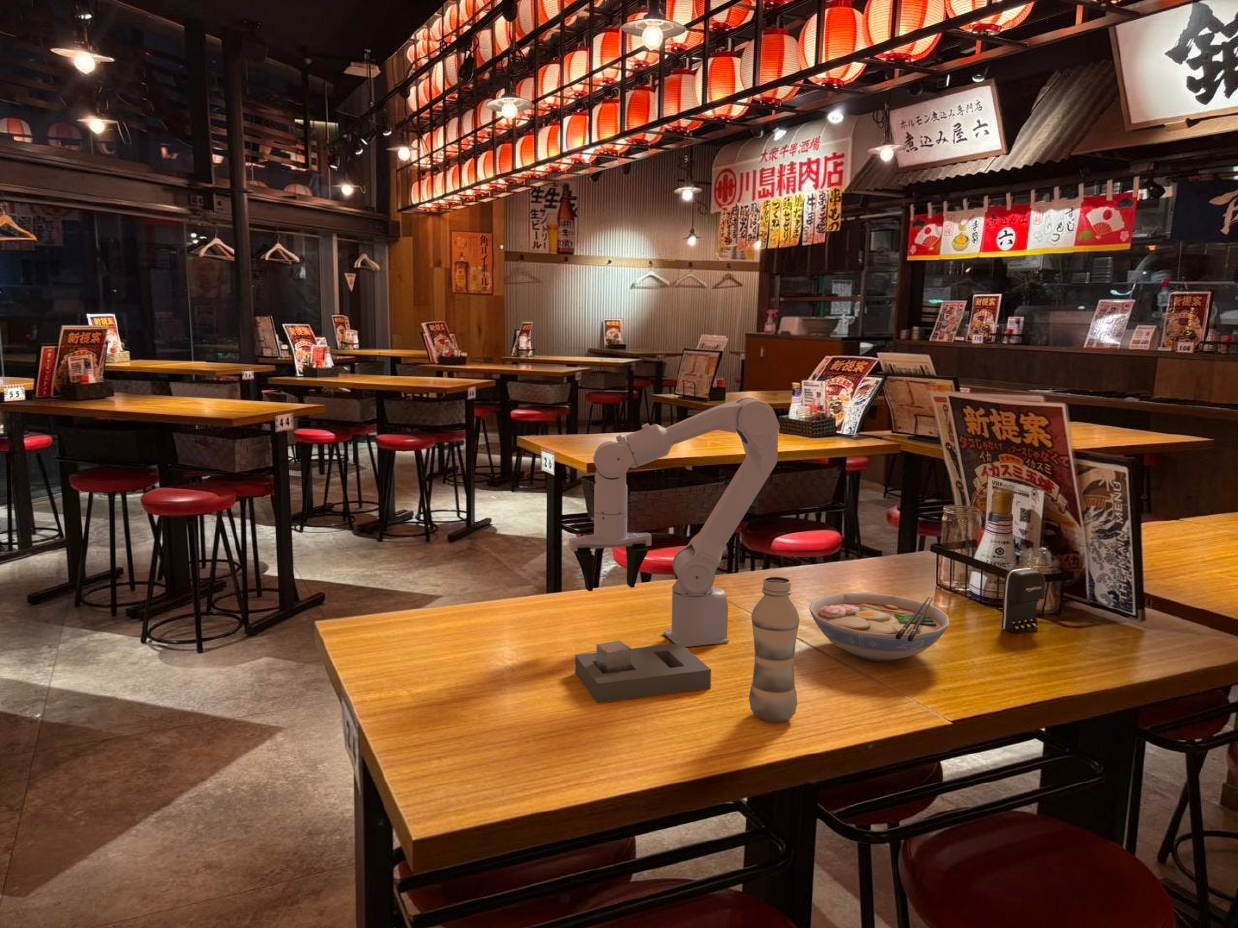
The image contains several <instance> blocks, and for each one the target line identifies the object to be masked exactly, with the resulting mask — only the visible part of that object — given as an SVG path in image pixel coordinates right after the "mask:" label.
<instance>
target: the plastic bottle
mask: <svg viewBox="0 0 1238 928" xmlns="http://www.w3.org/2000/svg"><path fill="white" fill-rule="evenodd" d="M791 584H792V583H791V579H789V578H788V577H783V576H766V577H764V579H763V581H762V585H763V586H762V589H761V590H762V591H761V593H763V596H762V597H761V598H760V599H759V601H758V602H757V603H756V605H755V606H754V607H753V609H752V612H751V626H752V634H753V641H754V642H753V644H754V645H753V647H754V649H753V651H754V663H753V664H754V665H753V674H752V682H751V686H750V690H749V697H748V700H749V707H750V711H751V712H752V713H753V714H754V716H755V717H756V718H758V719H760V720H763V721H765V722H770V723H782V722H787V721H789V720H791V719H792V718H793V716H794V715H795V714H796V710H797V705H798V697H797V690H796V686H795V684H796V683H795V682H796V681H795V666H794V663H795V657H794V656H795V650H796V642H797V637H798V630H799V625H800V616H799V612H798V610H797V608H796V606H795V605H794V603H793V602H792V600H791V598H790V597H789V596H791V594H792V590H791V588H792V587H791V586H792V585H791Z"/></svg>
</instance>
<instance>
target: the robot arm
mask: <svg viewBox="0 0 1238 928" xmlns="http://www.w3.org/2000/svg"><path fill="white" fill-rule="evenodd" d="M780 428H781V426H780V423H779V420H778V418H777V415H776V413H775V410H774V409H773V407H772V406H771V405H770V404H768V403H766V402H765V401H761V400H757V399H756V398H753V397H750V396H749V397H743V398H739V399H738V400H737V401H729V402H725V403H722V404H718V405H716V406H713V407H710V408H708V409H707V410H704V411H702V412H699V413H697V414H694V415H693V416H690V417H688V418H686V419H683V420H681V421H678V422H677V423H674V424H672V425H670V426H667V427H665V426H662V425H659V424H657V423H655V424H652V425H650V424H649V423H645V424H643V425H641V429H640V430H637V431H634V432H632V433H630V434H627V435H625V436H622V435H621V434H620V435H616V436H615V440H616V441H613V440H608V441H604V442H602V443H601V444H599V445H598V447H597V448H596V449H595V452H594V455H593V456H592V458H593V459H592V460H593V464H594V466H595V469H596V471H595V474H594V482H595V484H594V487H593V488H594V490H593V491H594V492H593V493H594V494H593V509H594V510H593V511H594V512H593V514H594V515H593V518H594V519H593V534H589V535H583V536H581V535H580V536H576V537H568V550H569V551H571V552H573V554H574V555H575V557H576V560H577V562H578V564H579V567H580V570H581V573H582V576H583V580H584V587H585V589H586V591H587V592H593V590H594V576H593V573H594V564H595V563H594V562H595V555H594V554H593V553H592V552H593V551H592V550H595V549H607V548H609V549H610V548H611V549H612V548H620V547H621V548H625V554H626V585H627V586H628V587H629V588H631V589H633V588H635V587H636V586H635V585H636V581H637V578H638V575H639V572H640V568H641V566H642V564H643V562H644V560H645V558H646V557H647V555H648V548H647V547H651V546H652V534H650V533H649V532H628V484H627V472H628V470H629V469H630V468H633V469H636V468H639V467H640V466H643V465H646V464H649V463H651V462H654V461H656V460H658V459H661V458H664V457H666V456H668V455H669V453H670V451H671V450H672V447H673V446H674V445H677V444H680V443H683V442H686V441H689V440H692V439H695V438H696V437H700V436H702V435H705V434H708V433H712V432H715V431H722V432H727V433H732V434H733V433H735V434H736V433H737V435H738V436H739V437H740V439H741V444H742V446H743V450H744V453H745V458H744V460H743V461H742V463H741V464H740V466H739V467H738V469H737V471H736V472H735V474H734V476H733V477H732V479H731V481H730V482H729V484H728V486H727V487H726V489H725V490H724V492H723V494H722V495H721V497H720V499H719V500H718V502H717V503H716V505H715V507H714V508H713V510H712V511H711V513H710V515H708V518H707V519H706V521H705V523H704V524H703V526H702V528H701V529H700V530H699V531H698V532H697V534H695V535H694V536H693V537H692V538H691V539H690V541H689V542H688V544H687V545H686V546H685V547H683V548H682V549H680V550H679V551H677V553H676V554H675V555H674V557H673V560H672V569H673V572H674V573H675V575H676V577H677V579H676V581H675V583H674V584H673V585H672V588H671V590H672V591H671V592H672V594H671V597H672V598H671V629H666V630H663V631H662V632H663V634H664V635H665V637H667V638H668V639H669V640H670V641H671V642H673V644H677V643H681V644H682V645H683V646H684V647H685V648H690V647H699V646H707V645H715V644H724V643H725V644H726V643H729V642H730V639H729V637H728V625H729V624H728V621H729V619H728V618H729V603H728V599H727V595H726V592H725V591H724V590H723V589H722V588H721V587H714V586H713V585H714V584H715V579H716V571H717V569H718V567H719V566H720V564H721V561H722V558H723V557H722V556H723V552H724V549H725V547H726V545H727V543H728V542H729V540H730V539H731V538H732V536H733V535H734V533H735V532H736V529H737V528H738V526H739V525H740V523H741V521H742V520H743V518H744V517H745V515H746V513H747V512H748V510H749V509H750V506H752V503H753V502H754V500H755V499H756V497H757V496H758V494H759V492H760V491H761V489H763V486H764V484H765V482H766V481H767V480H768V478H769V476H770V474H771V473H772V471H773V470H774V468H775V467H776V465H777V462H778V459H779V458H778V456H779V455H778V454H779V451H778V450H779V447H778V446H779V445H778V444H779V432H780Z"/></svg>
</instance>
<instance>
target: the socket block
mask: <svg viewBox="0 0 1238 928" xmlns="http://www.w3.org/2000/svg"><path fill="white" fill-rule="evenodd" d="M574 660H575V661H574V662H575V663H574V664H575V665H574V674H575V675H576V676H577V677H578V679H579V680H580V682H581V683H582V684H583V686H585V689H586V690H587V691H588V692H589V694H590V695H591V697H592V698H593V699H594V700H595V702H596V703H597V704H602V703H603V704H604V703H611V702H618V701H625V700H633V699H639V698H642V699H643V698H648V697H656V696H662V695H664V696H665V695H670V694H679V693H687V692H693V691H702V690H708V689H711V687H712V686H711V685H712V681H711V680H712V669H711V668H710V667H709V666H708V665H706V664H705V663H704V662H703V661H702V660H701V659H700V658H698V657H697V656H696V655H695V654H693V653H692V651H690V650H689V649H688V647H684V646H683V645H682V644H681V643H677V644H675V643H671V644H670V643H669V644H661V645H653V646H644V647H643V646H642V647H635V648H631V671H623V672H614V673H606V674H602V672H601V671H600V670H599V669H598V667H597V666H596V652H591V653H581V654H580V653H579V654H574Z"/></svg>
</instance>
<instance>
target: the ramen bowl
mask: <svg viewBox="0 0 1238 928" xmlns="http://www.w3.org/2000/svg"><path fill="white" fill-rule="evenodd" d="M929 599H930V597H927V599H926V600H925V601H924V602H923V601H920V600H916V599H913V598H912V599H911V598H908V597H902V596H898V595H892V594H883V593H871V592H841V593H836V594H831V595H824V596H822V597H819V598H817V599H815V600H813V601H811V603H810V605H809V608H808V609H809V612H810V614H811V615H810V616H811V617H812V619H813V620H814V622H815V623H816V625H817V627H818V628H819V630H820V631H821V632H822V633H823V635H824V636H825V637H826V638H827V639H828V641H829V642H831V643H832V644H833V645H835V646H836V647H838V648H840V649H842V650H844V651H846V652H848V653H851V654H853V655H855V656H857V657H859V658H861V659H863V660H867V661H873V662H874V661H875V662H891V661H895V660H898V659H903V658H909V657H914V656H916V655H919V654H920V653H923V652H924V651H926V650H927V649H929V648H931V647H932V646H933V645H934V644H935V643H936V642H937V641H938V640H939V639H940V638H941V637H942V636H943V634H945V632H946V631H947V629H948V627H949V625H950V619H949V615H948V614H947V613H945V612H944V611H942V610H941V609H940V608H938V607H936V606H933V605H931V602H932V601H933V599H934V597H931V599H930V600H929ZM928 601H929V602H928ZM927 602H928V603H927Z"/></svg>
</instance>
